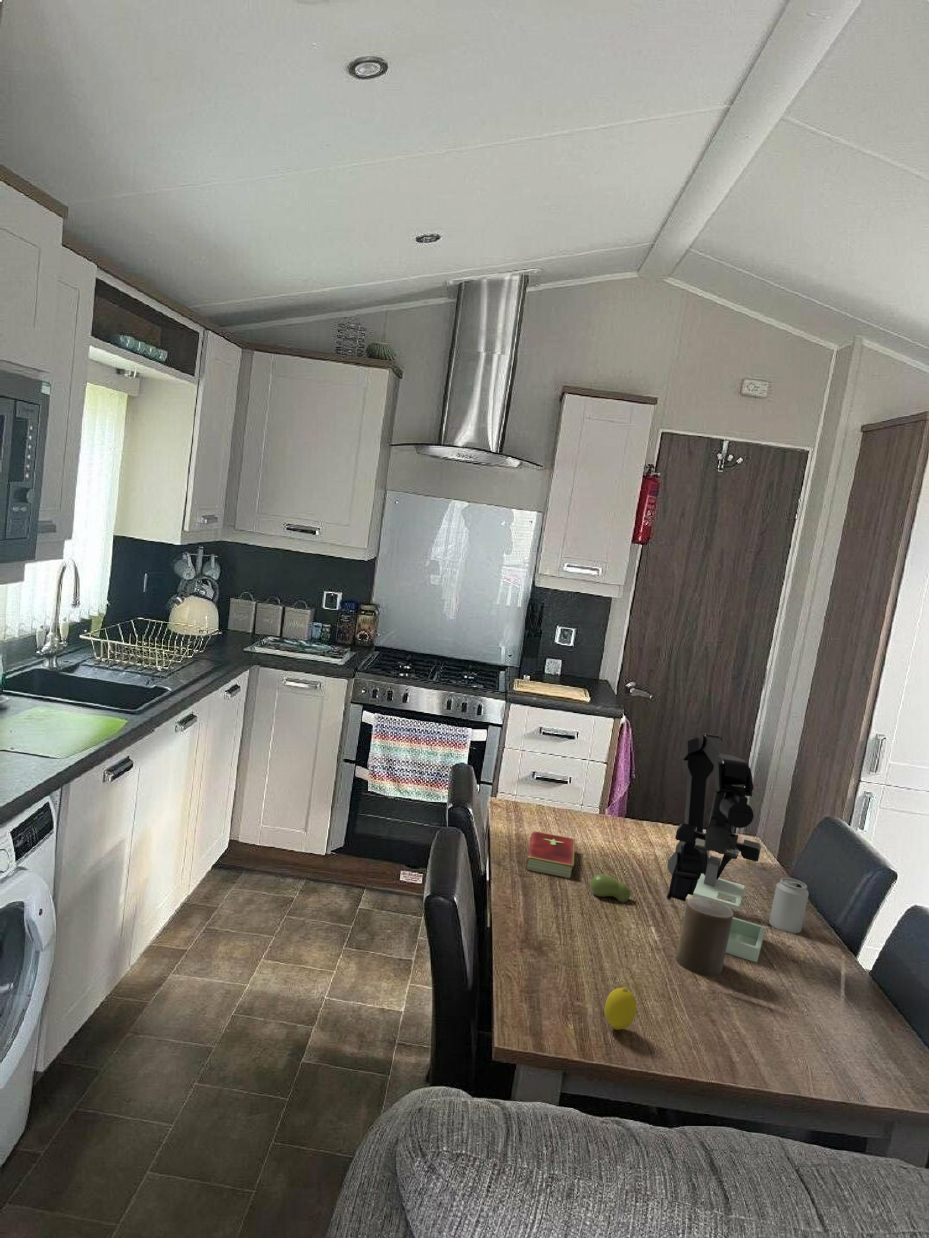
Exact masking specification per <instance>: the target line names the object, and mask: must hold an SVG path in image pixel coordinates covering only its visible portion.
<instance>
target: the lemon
mask: <svg viewBox="0 0 929 1238" xmlns="http://www.w3.org/2000/svg"><path fill="white" fill-rule="evenodd" d="M636 1014H637V1001H636V998H635V995H634V994H633V993H632V992H631V991H630V990H629V989H627V988H626V987H618V988H615V989H613V990H612V991H611V992H610V993H609V995H608V996H607V998H606V1001H605V1004H604V1016H605V1019H606V1021H607V1022H608V1024H609V1025H610V1026H612V1027H613V1029H614V1030H616V1031H619V1030H624V1029H627V1028H629V1027H630V1026H631V1025H632V1024H633V1022H634V1021H635V1017H636Z"/></svg>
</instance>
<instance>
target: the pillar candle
mask: <svg viewBox="0 0 929 1238" xmlns="http://www.w3.org/2000/svg"><path fill="white" fill-rule="evenodd" d="M733 911H734V910H733V909H731V908H729V907H727V906H725V905H723V904H721V903H719V902H716V901H713V900H709V899H704V898H698V897H696V898H691V899H689V900H688V901H687V906H686V911H685V916H684V920H683V925H682V930H681V932H680V935H679V940H678V946H677V949H676V952H675V957H674V959H675V962H676V963H677V964H678V965H680V966H681V967H683V968H684V969H685V970H687V971H689V972H691V973H695V974H698V975H702V976H708V977H709V976H711V977H714V976H718V975H720V974H722V972H723V966H724V964H725V963H724V962H725V958H726V954H727V953H726V948H727V943H728V939H729V934H730V929H731V924H732V919H733V917H734V912H733Z"/></svg>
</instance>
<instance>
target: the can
mask: <svg viewBox="0 0 929 1238" xmlns="http://www.w3.org/2000/svg"><path fill="white" fill-rule="evenodd" d="M809 894H810V892H809V891H808V886H807V884H806V883H805V882H803V881H801V880H798V879H796V878H791V877H781V878H780V880H779V882H777V883H776V885H775V889H774V895H773V900H772V906H771V910H770V915H769V921H768V923H769V924H770V926H771V927H773V928H772V929H775V930H779V931H783V932H786V933H788V934H792V935H797V934H798V933H801V932H802V928H803V923H804V917H805V913H806V907H807V903H808V899H809Z"/></svg>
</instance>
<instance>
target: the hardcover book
mask: <svg viewBox="0 0 929 1238" xmlns="http://www.w3.org/2000/svg"><path fill="white" fill-rule="evenodd" d="M575 845H576V838H572V837H567V836H563V835H562V836H561V835H557V834H551V833H547V832H541V831H536V830H533V831H532V832H531V835H530V841H529V845H528V851H527V854H526V860H525V866H524V867H525V870H526V871H527V870H528V871H532V872H533V871H534V872H538V873H543V874H548V875H552V876H558V877H562V878H569V879H571V875H572V869H573V868H574V866H575V850H576V849H575V848H576V846H575Z"/></svg>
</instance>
